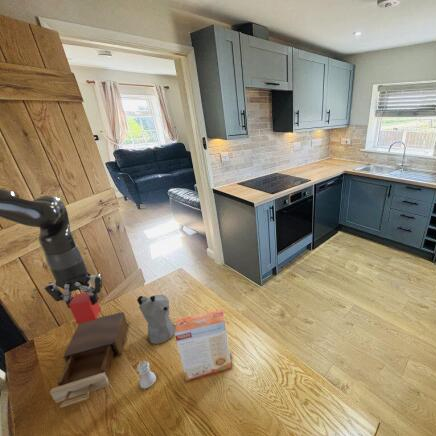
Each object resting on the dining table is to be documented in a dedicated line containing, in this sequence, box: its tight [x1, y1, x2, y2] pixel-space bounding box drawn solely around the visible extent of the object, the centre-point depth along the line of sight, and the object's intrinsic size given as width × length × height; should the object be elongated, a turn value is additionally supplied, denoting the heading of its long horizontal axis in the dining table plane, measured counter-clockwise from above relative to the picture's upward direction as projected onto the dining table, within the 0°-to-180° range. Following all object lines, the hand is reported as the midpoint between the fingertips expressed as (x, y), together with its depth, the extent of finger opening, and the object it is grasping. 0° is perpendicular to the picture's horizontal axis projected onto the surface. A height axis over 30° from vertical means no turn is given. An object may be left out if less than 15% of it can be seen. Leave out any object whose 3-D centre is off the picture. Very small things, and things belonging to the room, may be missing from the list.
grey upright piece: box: [136, 294, 176, 345], centre depth 87 cm, size 15×9×18 cm, turn 67°
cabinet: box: [62, 311, 129, 364], centre depth 84 cm, size 15×14×7 cm
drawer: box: [49, 345, 115, 409], centre depth 73 cm, size 18×12×5 cm
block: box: [69, 292, 101, 325], centre depth 78 cm, size 5×5×8 cm
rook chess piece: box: [136, 360, 157, 389], centre depth 73 cm, size 4×4×8 cm
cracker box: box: [174, 308, 232, 382], centre depth 75 cm, size 14×6×21 cm, turn 108°
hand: (84, 305), depth 78 cm, fingers closed on block, 5 cm apart
